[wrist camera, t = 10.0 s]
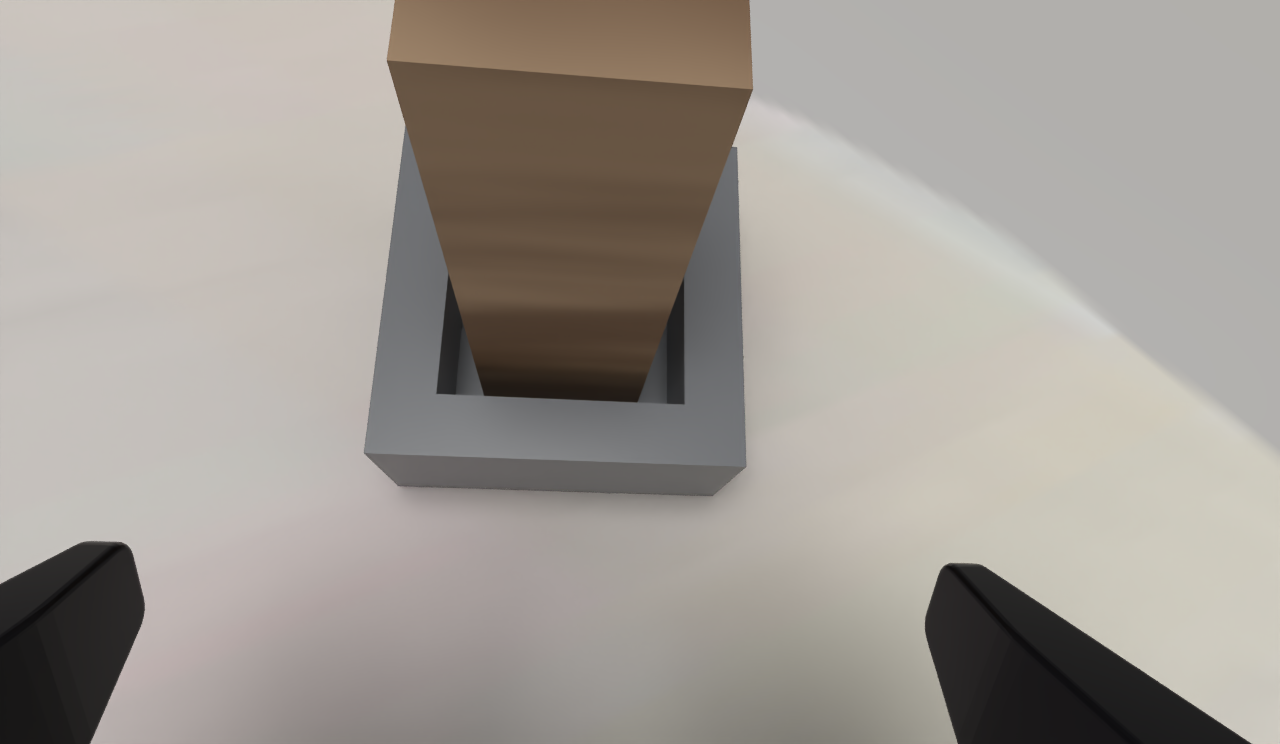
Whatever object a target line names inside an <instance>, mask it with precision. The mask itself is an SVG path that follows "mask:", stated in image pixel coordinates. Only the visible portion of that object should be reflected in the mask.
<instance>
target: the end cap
mask: <svg viewBox="0 0 1280 744" xmlns="http://www.w3.org/2000/svg"><path fill="white" fill-rule="evenodd" d="M364 454H365V455H366V456H367V457H368V458H369V459H370V460H371V461H373V462H374V463H375V464H376V465H377V466H378V467H379V468H380V469H381V470H382V471H383V472H384V473H385V474H386V475H387V476H388V477H389V478H390V479H391V480H393V481H394V482H395V483H396V484H397V485H398V486H419V487H451V488H482V489H513V490H544V491H575V492H607V493H638V494H669V495H700V496H713V495H714V494H715V493H716V492H717V491H719V490H720V489H721V488H722V487H723V486H724V485H726V484H727V483H728V482H729V481H730V480H731V479H733V478H734V477H735V476H736V475H737V474H739V473H740V472H741V471H742V470H743V469H744V468H746V442H745V407H744V372H743V337H742V302H741V267H740V232H739V196H738V161H737V147H731V150H730V153H729V156H728V158H727V161H726V164H725V166H724V169H723V172H722V175H721V177H720V180H719V183H718V185H717V188H716V191H715V194H714V196H713V199H712V202H711V204H710V207H709V210H708V213H707V215H706V218H705V221H704V223H703V226H702V229H701V232H700V234H699V237H698V240H697V242H696V245H695V248H694V251H693V253H692V256H691V259H690V261H689V264H688V267H687V270H686V272H685V275H684V278H683V280H682V283H681V286H680V288H679V291H678V294H677V297H676V299H675V302H674V305H673V307H672V310H671V313H670V316H669V318H668V321H667V324H666V326H665V329H664V332H663V335H662V337H661V340H660V343H659V345H658V348H657V351H656V354H655V356H654V359H653V362H652V364H651V367H650V370H649V373H648V375H647V378H646V381H645V383H644V386H643V389H642V392H641V394H640V397H639V400H638V402H637V403H636V402H612V401H589V400H566V399H543V398H519V397H496V396H484V394H483V390H482V387H481V383H480V380H479V376H478V373H477V369H476V366H475V363H474V359H473V356H472V352H471V349H470V345H469V342H468V338H467V335H466V332H465V328H464V325H463V321H462V318H461V314H460V311H459V307H458V304H457V300H456V297H455V294H454V290H453V287H452V283H451V280H450V276H449V273H448V269H447V266H446V263H445V259H444V256H443V252H442V249H441V245H440V242H439V238H438V235H437V232H436V228H435V225H434V221H433V218H432V214H431V211H430V207H429V204H428V201H427V197H426V194H425V190H424V187H423V183H422V180H421V176H420V173H419V169H418V166H417V163H416V159H415V156H414V152H413V149H412V145H411V142H410V138H409V135H408V132H407V128H406V125H405V133H404V141H403V149H402V157H401V165H400V172H399V180H398V188H397V196H396V204H395V212H394V220H393V228H392V235H391V243H390V251H389V259H388V267H387V275H386V283H385V290H384V298H383V306H382V314H381V322H380V330H379V338H378V346H377V353H376V361H375V369H374V377H373V385H372V393H371V401H370V408H369V416H368V424H367V432H366V440H365V448H364Z"/></svg>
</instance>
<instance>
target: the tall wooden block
mask: <svg viewBox="0 0 1280 744" xmlns="http://www.w3.org/2000/svg"><path fill="white" fill-rule="evenodd" d="M387 63H388V66H389V70H390V73H391V76H392V80H393V83H394V87H395V90H396V94H397V97H398V101H399V104H400V107H401V111H402V114H403V118H404V121H405V125H406V128H407V132H408V135H409V138H410V142H411V145H412V149H413V152H414V156H415V159H416V163H417V166H418V169H419V173H420V176H421V180H422V183H423V187H424V190H425V194H426V197H427V201H428V204H429V207H430V211H431V214H432V218H433V221H434V225H435V228H436V232H437V235H438V238H439V242H440V245H441V249H442V252H443V256H444V259H445V263H446V266H447V269H448V273H449V276H450V280H451V283H452V287H453V290H454V294H455V297H456V300H457V304H458V307H459V311H460V314H461V318H462V321H463V325H464V328H465V332H466V335H467V338H468V342H469V345H470V349H471V352H472V356H473V359H474V363H475V366H476V369H477V373H478V376H479V380H480V383H481V387H482V390H483V394H484V396H496V397H519V398H543V399H566V400H589V401H612V402H636V403H637V402H638V400H639V397H640V394H641V392H642V389H643V386H644V383H645V381H646V378H647V375H648V373H649V370H650V367H651V364H652V362H653V359H654V356H655V354H656V351H657V348H658V345H659V343H660V340H661V337H662V335H663V332H664V329H665V326H666V324H667V321H668V318H669V316H670V313H671V310H672V307H673V305H674V302H675V299H676V297H677V294H678V291H679V288H680V286H681V283H682V280H683V278H684V275H685V272H686V270H687V267H688V264H689V261H690V259H691V256H692V253H693V251H694V248H695V245H696V242H697V240H698V237H699V234H700V232H701V229H702V226H703V223H704V221H705V218H706V215H707V213H708V210H709V207H710V204H711V202H712V199H713V196H714V194H715V191H716V188H717V185H718V183H719V180H720V177H721V175H722V172H723V169H724V166H725V164H726V161H727V158H728V156H729V153H730V150H731V147H732V145H733V142H734V139H735V137H736V134H737V131H738V128H739V126H740V123H741V120H742V118H743V115H744V112H745V109H746V107H747V104H748V101H749V99H750V96H751V93H752V90H753V79H752V56H751V30H750V6H749V0H395V4H394V11H393V19H392V26H391V33H390V41H389V48H388V55H387Z"/></svg>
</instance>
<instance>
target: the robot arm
mask: <svg viewBox="0 0 1280 744" xmlns="http://www.w3.org/2000/svg"><path fill="white" fill-rule="evenodd" d="M144 611H145V603H144V597H143V593H142V589H141V585H140V581H139V577H138V573H137V569H136V565H135V561H134V557H133V553H132V551H131V549H130V548H129V546H128V545H126V544H124V543H122V542H103V541H87V542H82V543H79V544H77V545H75V546H73V547H71V548H69V549H67V550H65V551H63V552H61V553H59V554H57V555H56V556H54V557H52V558H50V559H48V560H46V561H44V562H42V563H40V564H38V565H36V566H34V567H32V568H30V569H28V570H26V571H25V572H23V573H21V574H19V575H17V576H15V577H13V578H11V579H9V580H7V581H5V582H3V583H1V584H0V744H90V743H91V740H92V738H93V736H94V734H95V731H96V729H97V727H98V724H99V722H100V720H101V717H102V715H103V713H104V711H105V708H106V706H107V704H108V701H109V699H110V697H111V694H112V692H113V690H114V687H115V685H116V683H117V680H118V678H119V676H120V673H121V671H122V669H123V666H124V664H125V662H126V660H127V657H128V655H129V653H130V650H131V648H132V646H133V643H134V641H135V639H136V636H137V634H138V632H139V629H140V627H141V624H142V621H143V617H144ZM925 633H926V638H927V642H928V645H929V648H930V652H931V655H932V658H933V662H934V665H935V669H936V672H937V675H938V679H939V682H940V685H941V689H942V692H943V696H944V699H945V702H946V706H947V709H948V712H949V716H950V719H951V722H952V726H953V729H954V733H955V736H956V739H957V742H958V744H1251V743H1250V742H1248V741H1247V740H1245V739H1244V738H1242V737H1241V736H1239V735H1238V734H1236V733H1235V732H1233V731H1232V730H1230V729H1229V728H1227V727H1226V726H1224V725H1223V724H1221V723H1220V722H1218V721H1217V720H1215V719H1214V718H1212V717H1211V716H1209V715H1208V714H1206V713H1205V712H1203V711H1202V710H1200V709H1199V708H1197V707H1196V706H1194V705H1193V704H1191V703H1190V702H1188V701H1187V700H1185V699H1184V698H1182V697H1180V696H1179V695H1177V694H1176V693H1174V692H1173V691H1171V690H1170V689H1168V688H1167V687H1165V686H1164V685H1162V684H1161V683H1159V682H1158V681H1156V680H1155V679H1153V678H1152V677H1150V676H1149V675H1147V674H1146V673H1144V672H1143V671H1141V670H1140V669H1138V668H1137V667H1135V666H1134V665H1132V664H1131V663H1129V662H1128V661H1126V660H1125V659H1123V658H1122V657H1120V656H1119V655H1117V654H1116V653H1114V652H1113V651H1111V650H1110V649H1108V648H1107V647H1105V646H1104V645H1102V644H1101V643H1099V642H1098V641H1096V640H1095V639H1093V638H1092V637H1090V636H1088V635H1087V634H1085V633H1084V632H1082V631H1081V630H1079V629H1078V628H1076V627H1075V626H1073V625H1072V624H1070V623H1069V622H1067V621H1066V620H1064V619H1063V618H1061V617H1060V616H1058V615H1057V614H1055V613H1054V612H1052V611H1051V610H1049V609H1048V608H1046V607H1045V606H1043V605H1042V604H1040V603H1039V602H1037V601H1036V600H1034V599H1033V598H1031V597H1030V596H1028V595H1027V594H1025V593H1024V592H1022V591H1021V590H1019V589H1018V588H1016V587H1015V586H1013V585H1012V584H1010V583H1009V582H1007V581H1006V580H1004V579H1003V578H1001V577H1000V576H998V575H996V574H995V573H993V572H992V571H990V570H989V569H987V568H986V567H984V566H982V565H980V564H972V563H949V564H946V565H945V566H943V568H942V569H941V571H940V573H939V575H938V578H937V582H936V585H935V588H934V591H933V594H932V597H931V600H930V604H929V607H928V610H927V613H926V617H925Z"/></svg>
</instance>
